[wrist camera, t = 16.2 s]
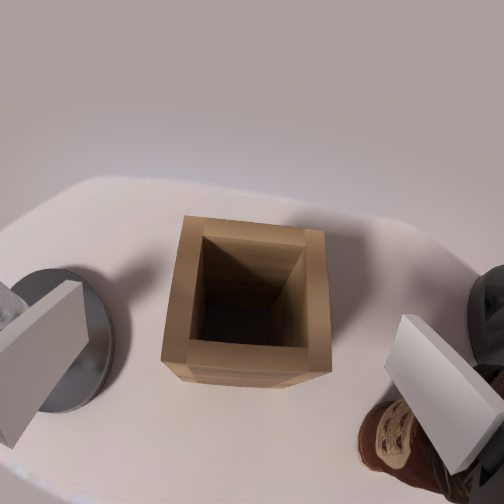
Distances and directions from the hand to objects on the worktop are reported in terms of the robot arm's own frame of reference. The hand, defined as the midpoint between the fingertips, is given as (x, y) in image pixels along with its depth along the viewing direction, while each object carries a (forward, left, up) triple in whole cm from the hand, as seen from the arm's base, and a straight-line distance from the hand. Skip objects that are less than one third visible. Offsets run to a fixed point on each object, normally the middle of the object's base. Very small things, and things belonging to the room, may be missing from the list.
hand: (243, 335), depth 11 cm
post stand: (+6, +14, -12) cm, 19 cm away
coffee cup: (-11, -9, -12) cm, 19 cm away
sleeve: (+2, -2, -12) cm, 12 cm away
